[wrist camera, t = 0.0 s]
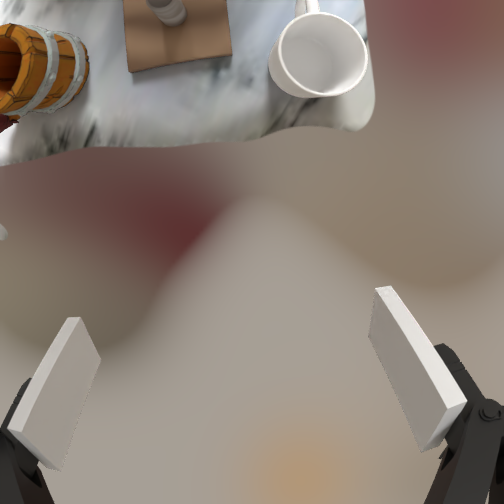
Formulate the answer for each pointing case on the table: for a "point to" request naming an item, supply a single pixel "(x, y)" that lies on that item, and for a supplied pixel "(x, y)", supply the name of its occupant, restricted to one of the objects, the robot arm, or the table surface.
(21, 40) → the mug
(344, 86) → the cup
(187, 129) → the table surface
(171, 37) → the post block
